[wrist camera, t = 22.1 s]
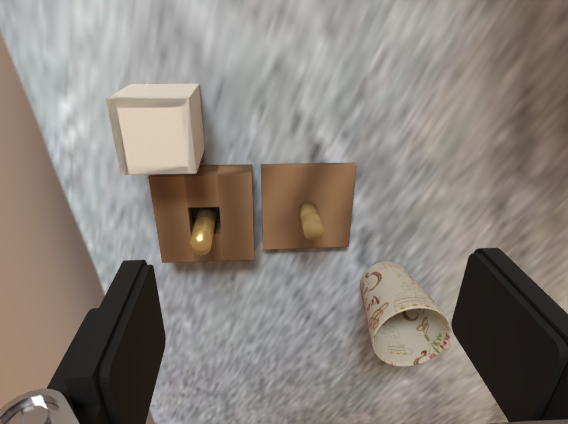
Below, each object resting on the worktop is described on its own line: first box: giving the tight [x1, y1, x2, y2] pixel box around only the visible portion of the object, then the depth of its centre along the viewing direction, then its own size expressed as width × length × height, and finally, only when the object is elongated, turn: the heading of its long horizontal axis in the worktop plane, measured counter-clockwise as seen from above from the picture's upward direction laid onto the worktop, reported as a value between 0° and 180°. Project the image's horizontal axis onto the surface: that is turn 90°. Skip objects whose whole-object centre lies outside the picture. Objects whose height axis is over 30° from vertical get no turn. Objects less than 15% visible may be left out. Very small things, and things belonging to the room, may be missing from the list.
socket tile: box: [149, 165, 254, 263], centre depth 42 cm, size 10×10×3 cm
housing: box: [106, 84, 205, 175], centre depth 36 cm, size 6×6×7 cm
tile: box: [261, 163, 356, 249], centre depth 42 cm, size 10×10×6 cm
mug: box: [360, 261, 451, 366], centre depth 46 cm, size 8×13×10 cm, turn 58°
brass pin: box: [189, 207, 218, 256], centre depth 40 cm, size 2×2×8 cm
